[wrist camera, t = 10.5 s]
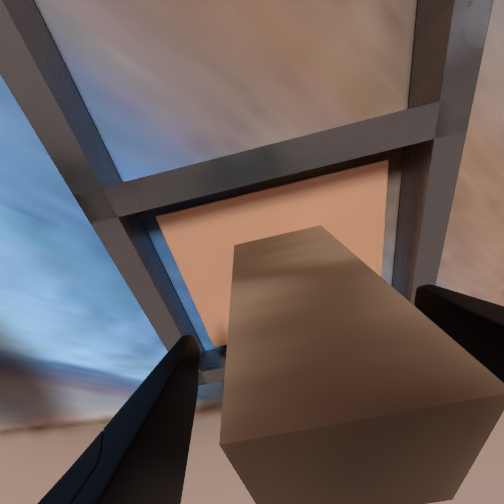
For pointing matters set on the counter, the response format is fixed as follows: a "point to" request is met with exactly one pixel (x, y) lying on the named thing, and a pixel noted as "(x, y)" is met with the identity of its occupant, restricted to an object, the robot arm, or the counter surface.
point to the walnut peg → (344, 382)
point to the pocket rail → (262, 175)
